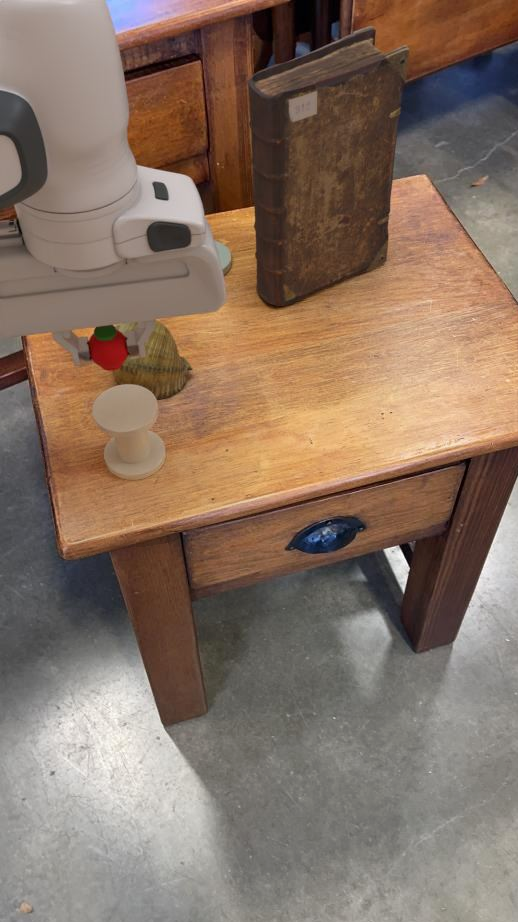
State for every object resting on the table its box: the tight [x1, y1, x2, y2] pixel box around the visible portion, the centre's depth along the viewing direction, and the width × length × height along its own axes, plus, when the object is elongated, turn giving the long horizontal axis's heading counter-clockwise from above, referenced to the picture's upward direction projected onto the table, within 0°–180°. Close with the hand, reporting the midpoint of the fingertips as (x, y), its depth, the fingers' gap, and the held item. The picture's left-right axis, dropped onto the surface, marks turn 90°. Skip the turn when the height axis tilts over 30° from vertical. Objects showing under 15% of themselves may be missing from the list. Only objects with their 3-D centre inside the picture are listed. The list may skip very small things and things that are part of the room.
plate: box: [215, 240, 233, 276], centre depth 99 cm, size 7×7×1 cm
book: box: [247, 25, 410, 307], centre depth 88 cm, size 17×7×25 cm, turn 121°
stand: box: [91, 384, 167, 481], centre depth 79 cm, size 6×6×7 cm
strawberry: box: [88, 325, 128, 372], centre depth 70 cm, size 3×3×4 cm
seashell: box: [112, 319, 193, 400], centre depth 87 cm, size 10×7×8 cm
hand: (110, 356), depth 71 cm, fingers closed on strawberry, 3 cm apart
